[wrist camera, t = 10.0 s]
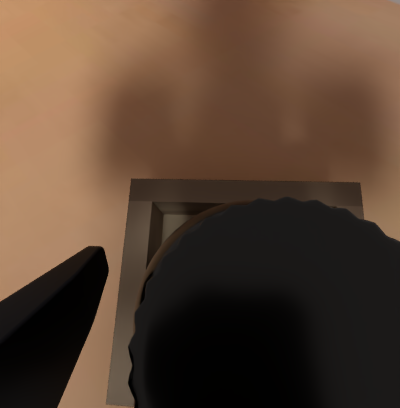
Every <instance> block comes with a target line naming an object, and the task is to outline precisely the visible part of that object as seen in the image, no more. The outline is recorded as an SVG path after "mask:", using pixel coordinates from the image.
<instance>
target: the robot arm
mask: <svg viewBox="0 0 400 408" xmlns="http://www.w3.org/2000/svg"><path fill="white" fill-rule="evenodd" d="M108 272H109V267H108V263H107V259H106V255H105V251H104V249H103V247H101V246H88V247H86V248H85V249H83V250H81V251H80V252H78V253H77V254H75V255H74V256H72V257H70V258H69V259H67V260H66V261H64V262H62V263H61V264H59V265H58V266H56V267H55V268H53V269H51V270H50V271H48V272H47V273H45V274H43V275H42V276H40V277H39V278H37V279H36V280H34V281H32V282H31V283H29V284H28V285H26V286H24V287H23V288H21V289H20V290H18V291H17V292H15V293H13V294H12V295H10V296H9V297H7V298H5V299H4V300H2V301H1V302H0V408H57V407H58V405H59V402H60V400H61V398H62V395H63V393H64V391H65V388H66V386H67V384H68V381H69V379H70V377H71V374H72V372H73V369H74V367H75V365H76V362H77V360H78V358H79V355H80V353H81V351H82V348H83V346H84V344H85V341H86V339H87V337H88V334H89V332H90V329H91V327H92V324H93V322H94V319H95V316H96V313H97V309H98V306H99V303H100V300H101V296H102V293H103V290H104V286H105V283H106V280H107V276H108Z"/></svg>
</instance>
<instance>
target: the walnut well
mask: <svg viewBox="0 0 400 408" xmlns="http://www.w3.org/2000/svg"><path fill="white" fill-rule="evenodd" d="M286 196H288V197H291V198H295V199H297V200H299V201H308V200H318V201H320V202H322V203H324V204H326V205H327V206H329V207H331V208H346V209H348V210H349V211H350V212H352V213H353V214H354V215H355V216H356V217H357V218H359V219H362V220H364V213H363V204H362V195H361V186H360V183H357V182H299V181H241V180H183V179H131V186H130V195H129V204H128V213H127V222H126V230H125V239H124V248H123V257H122V266H121V275H120V284H119V293H118V302H117V310H116V319H115V328H114V337H113V346H112V355H111V364H110V373H109V381H108V390H107V399H106V404H108V405H120V406H132V407H134V406H135V400H134V397H133V395H132V393H131V391H130V388H129V385H128V379H129V374H130V371H131V368H132V363H131V359H130V356H129V350H128V345H129V343H130V340H131V338H132V336H133V315H134V308H135V302H136V298H137V294H138V290H139V287H140V284H141V281H142V278H143V276H144V273H145V271H146V269H147V267H148V265H149V263H150V261H151V260H152V258H153V256H154V255H155V253H156V252H157V250H158V249H159V247H160V246H161V245H162V244H163V243H164V241H165V240H166V239H167V238H168V237H169V236H170V235H171V234H172V233H173V232H174V231H175V230H176V229H177V228H178V227H180V226H181V225H182V224H183V223H185V222H186V221H188V220H189V219H191V218H192V217H194V216H196V215H197V214H199V213H201V212H203V211H205V210H208V209H210V208H212V207H215V206H218V205H222V204H225V203H230V202H235V201H243V200H256V199H258V198H262V199H268V200H272V201H275V200H278V199H280V198H282V197H286Z"/></svg>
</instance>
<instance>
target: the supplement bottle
mask: <svg viewBox="0 0 400 408" xmlns="http://www.w3.org/2000/svg"><path fill="white" fill-rule="evenodd" d="M128 350H129V356H130V359H131V363H132V368H131V371H130V374H129V379H128V385H129V388H130V391H131V393H132V395H133V397H134V400H135V406H134V408H400V241H398V240H396V239H393V238H390V237H388V236H386V235H385V234H384V232H383V231H382V230H381V229H380V228H379V227H378V226H377V225H376V224H375V223H374V222H370V221H367V220H362V219H359V218H357V217H356V216H355V215H354V214H353V213H352V212H350V211H349V210H348V209H346V208H331V207H329V206H327V205H326V204H324V203H322V202H320V201H318V200H308V201H299V200H297V199H295V198H291V197H288V196H286V197H282V198H280V199H278V200H275V201H272V200H268V199H262V198H258V199H256V200H243V201H235V202H230V203H225V204H222V205H218V206H215V207H212V208H210V209H208V210H205V211H203V212H201V213H199V214H197V215H196V216H194V217H192V218H191V219H189V220H188V221H186V222H185V223H183V224H182V225H181V226H180V227H178V228H177V229H176V230H175V231H174V232H173V233H172V234H171V235H170V236H169V237H168V238H167V239H166V240H165V241H164V243H163V244H162V245H161V246H160V247H159V249H158V250H157V252H156V253H155V255H154V256H153V258H152V260H151V261H150V263H149V265H148V267H147V269H146V271H145V273H144V276H143V278H142V281H141V284H140V287H139V290H138V294H137V298H136V302H135V308H134V315H133V336H132V338H131V340H130V343H129V345H128Z"/></svg>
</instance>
